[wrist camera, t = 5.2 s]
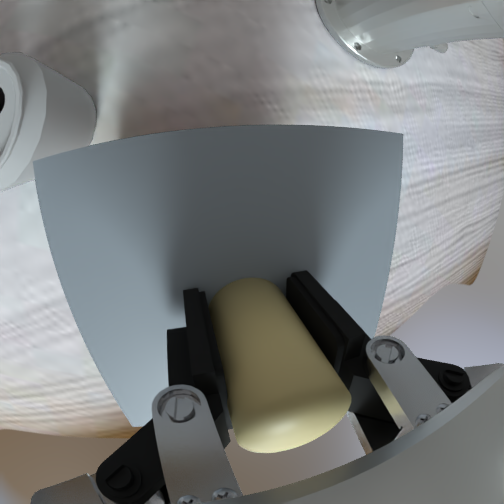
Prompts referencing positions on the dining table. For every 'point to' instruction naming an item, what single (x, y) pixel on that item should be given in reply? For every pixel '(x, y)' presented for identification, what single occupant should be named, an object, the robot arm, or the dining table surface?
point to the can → (38, 116)
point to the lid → (225, 258)
